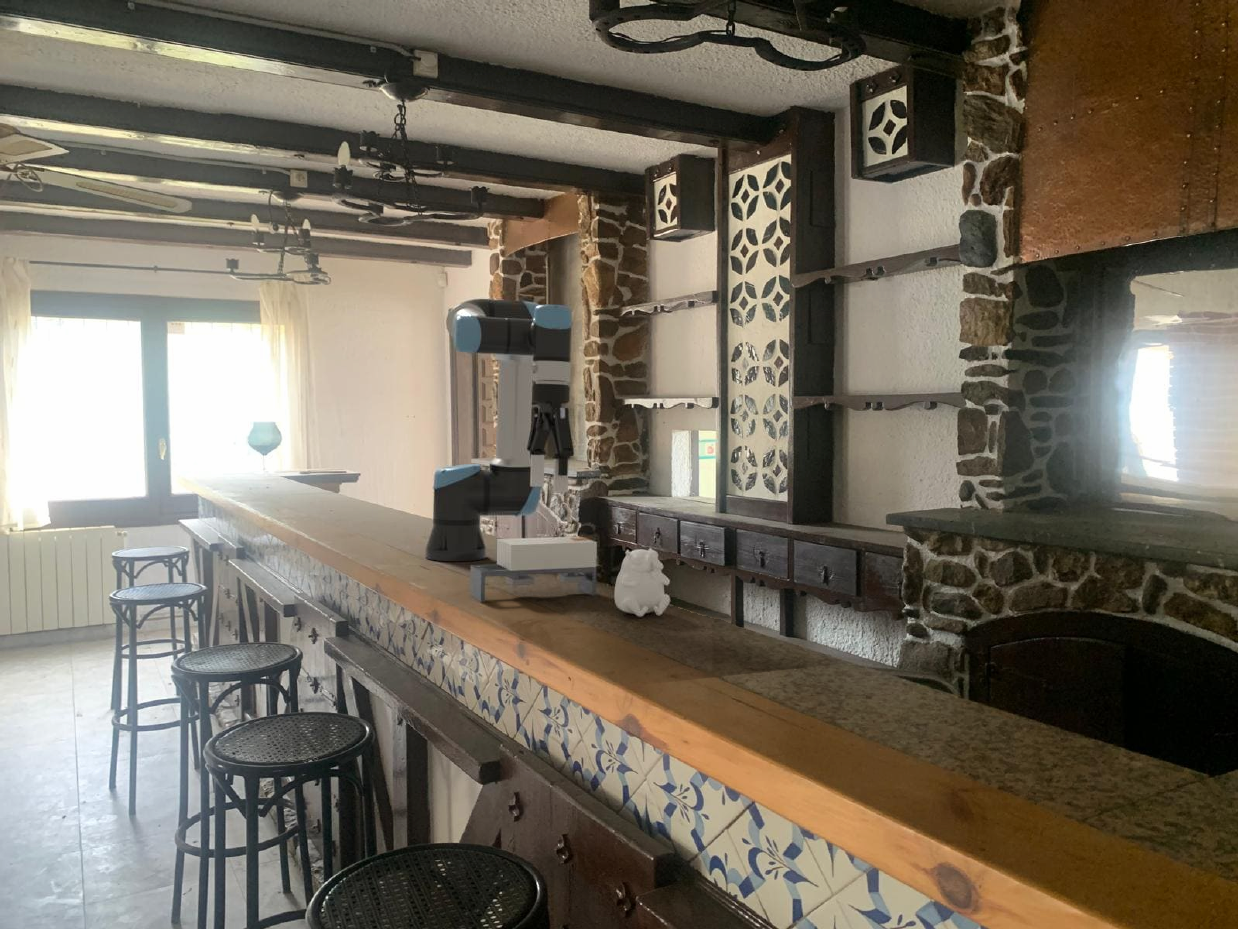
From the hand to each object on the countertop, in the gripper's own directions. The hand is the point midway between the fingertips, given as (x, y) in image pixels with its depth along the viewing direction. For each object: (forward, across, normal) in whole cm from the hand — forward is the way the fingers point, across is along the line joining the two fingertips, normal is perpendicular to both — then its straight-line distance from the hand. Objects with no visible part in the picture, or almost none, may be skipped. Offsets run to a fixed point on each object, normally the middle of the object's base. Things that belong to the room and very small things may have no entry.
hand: (548, 489), depth 186 cm
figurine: (+21, +22, +10) cm, 33 cm away
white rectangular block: (+19, 0, 0) cm, 19 cm away
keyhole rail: (+21, 0, -3) cm, 21 cm away
